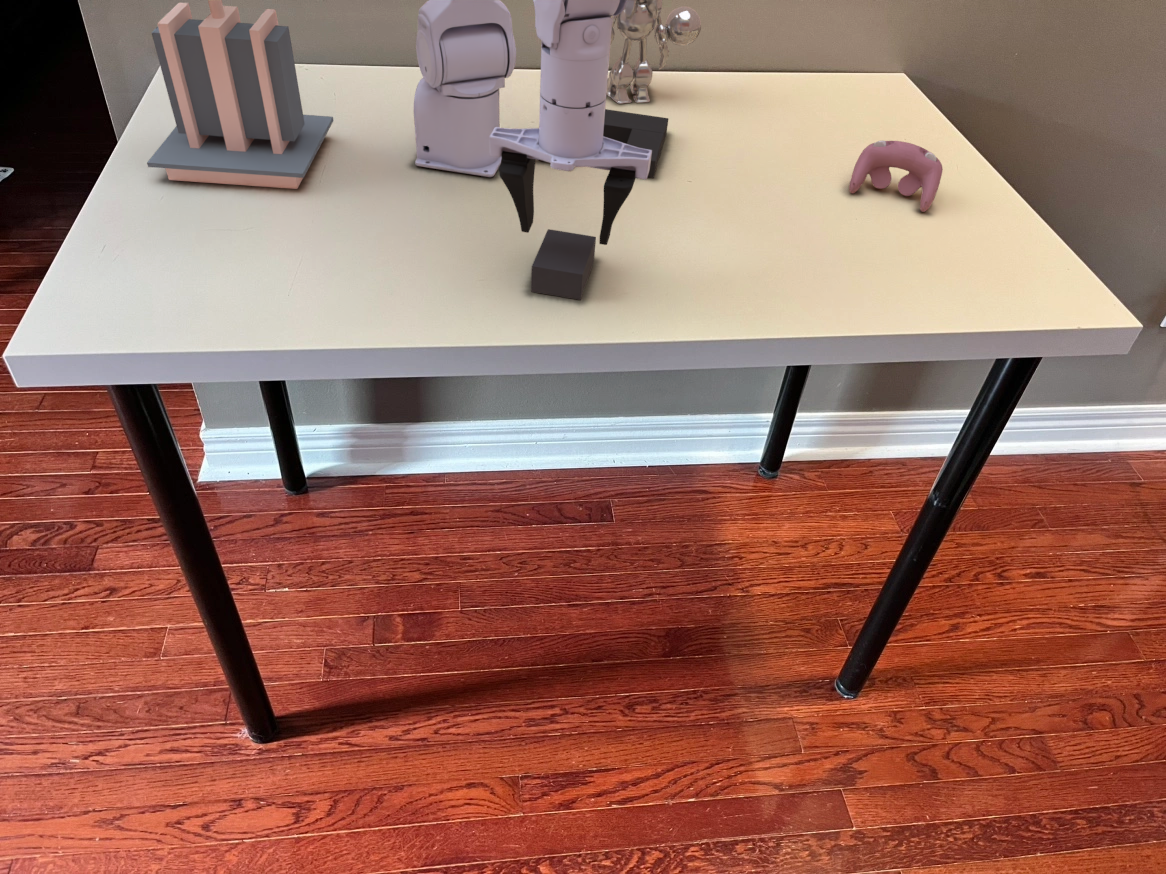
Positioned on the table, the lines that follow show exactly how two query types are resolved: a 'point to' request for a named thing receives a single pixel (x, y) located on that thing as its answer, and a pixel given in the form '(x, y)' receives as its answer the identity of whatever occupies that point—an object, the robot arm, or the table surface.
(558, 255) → the pad
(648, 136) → the notched dark slab
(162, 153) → the striped block on base
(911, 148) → the video game controller
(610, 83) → the robot toy
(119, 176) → the table surface
